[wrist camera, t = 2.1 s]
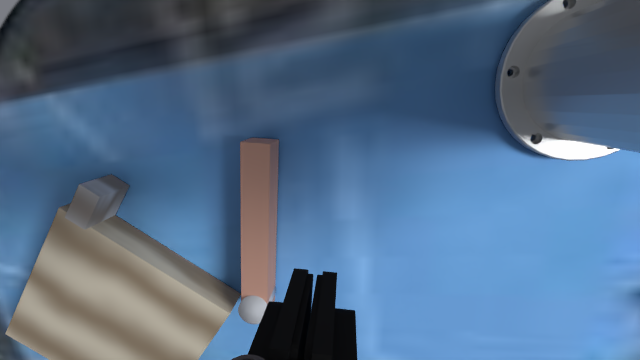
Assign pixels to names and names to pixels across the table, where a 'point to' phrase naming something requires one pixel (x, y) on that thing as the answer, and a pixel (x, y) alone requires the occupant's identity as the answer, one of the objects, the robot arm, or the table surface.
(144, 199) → the table surface
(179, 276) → the stool seat
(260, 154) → the folding leg
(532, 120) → the robot arm
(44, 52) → the table surface
